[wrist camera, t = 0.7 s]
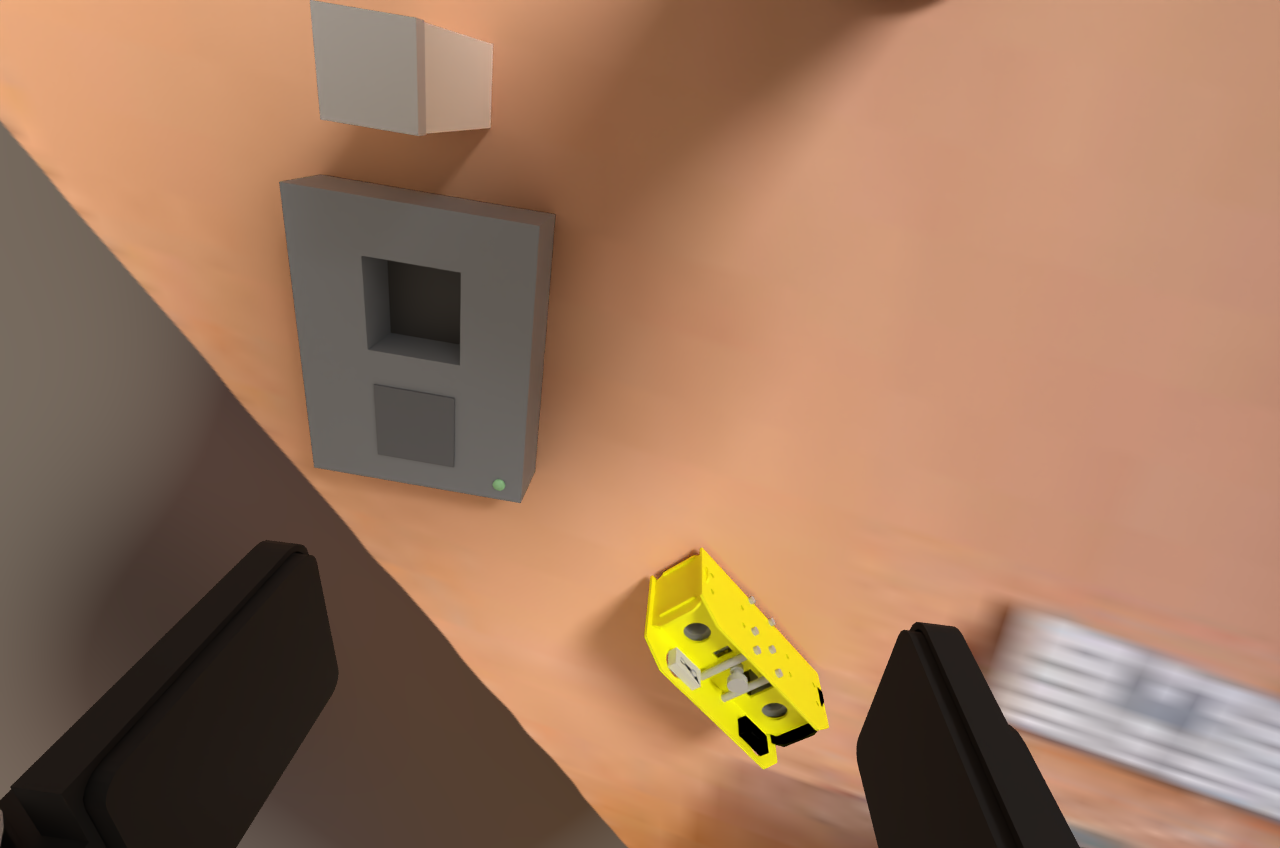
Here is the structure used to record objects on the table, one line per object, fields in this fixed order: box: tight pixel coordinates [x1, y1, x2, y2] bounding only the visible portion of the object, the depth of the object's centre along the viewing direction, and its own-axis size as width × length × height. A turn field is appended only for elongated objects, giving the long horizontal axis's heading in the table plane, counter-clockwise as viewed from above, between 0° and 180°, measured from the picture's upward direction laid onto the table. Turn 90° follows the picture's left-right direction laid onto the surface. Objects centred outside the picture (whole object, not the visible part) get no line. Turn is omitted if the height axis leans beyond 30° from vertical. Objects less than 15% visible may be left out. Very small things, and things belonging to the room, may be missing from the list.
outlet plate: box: [279, 175, 555, 503], centre depth 38 cm, size 18×14×4 cm
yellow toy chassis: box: [644, 548, 829, 769], centre depth 45 cm, size 16×6×8 cm, turn 39°
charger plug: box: [310, 0, 493, 136], centre depth 28 cm, size 4×4×10 cm
